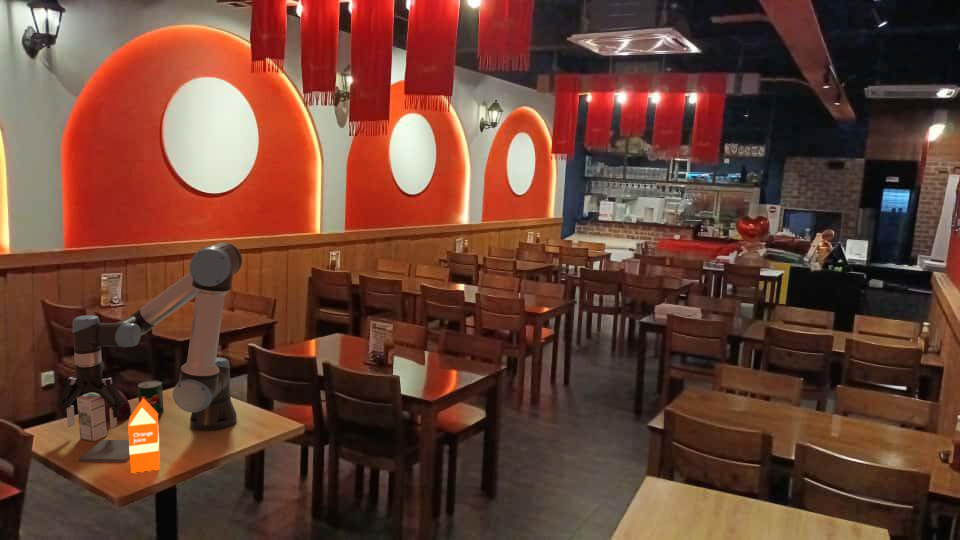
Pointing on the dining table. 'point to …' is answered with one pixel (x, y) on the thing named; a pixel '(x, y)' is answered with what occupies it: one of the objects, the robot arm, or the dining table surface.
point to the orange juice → (144, 438)
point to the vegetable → (123, 410)
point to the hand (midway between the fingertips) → (92, 426)
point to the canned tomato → (152, 394)
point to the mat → (108, 452)
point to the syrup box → (91, 416)
